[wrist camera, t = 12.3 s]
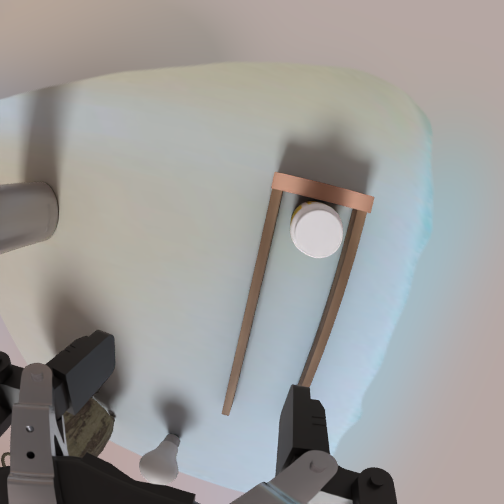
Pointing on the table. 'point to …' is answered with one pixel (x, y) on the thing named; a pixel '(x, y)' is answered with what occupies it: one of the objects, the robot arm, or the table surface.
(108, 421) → the tabletop clock
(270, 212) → the guide track
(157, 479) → the lightbulb
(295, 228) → the supplement bottle
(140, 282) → the table surface
